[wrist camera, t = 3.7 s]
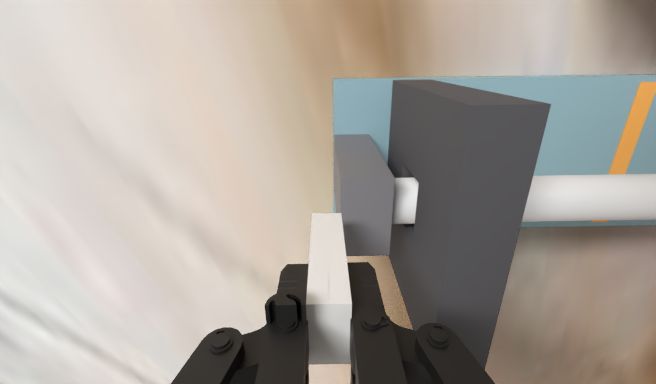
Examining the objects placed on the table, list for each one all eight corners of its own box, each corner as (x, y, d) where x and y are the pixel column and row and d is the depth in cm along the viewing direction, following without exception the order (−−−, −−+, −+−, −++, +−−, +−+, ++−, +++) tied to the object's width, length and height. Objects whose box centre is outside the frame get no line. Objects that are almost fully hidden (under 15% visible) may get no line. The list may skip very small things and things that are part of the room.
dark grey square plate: (382, 237, 30) (428, 373, 17) (392, 80, 25) (469, 105, 12) (414, 237, 30) (483, 372, 17) (431, 79, 25) (550, 104, 12)
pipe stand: (333, 223, 33) (339, 313, 21) (333, 78, 27) (340, 93, 16) (701, 217, 33) (902, 302, 22) (772, 72, 28) (1091, 84, 16)
